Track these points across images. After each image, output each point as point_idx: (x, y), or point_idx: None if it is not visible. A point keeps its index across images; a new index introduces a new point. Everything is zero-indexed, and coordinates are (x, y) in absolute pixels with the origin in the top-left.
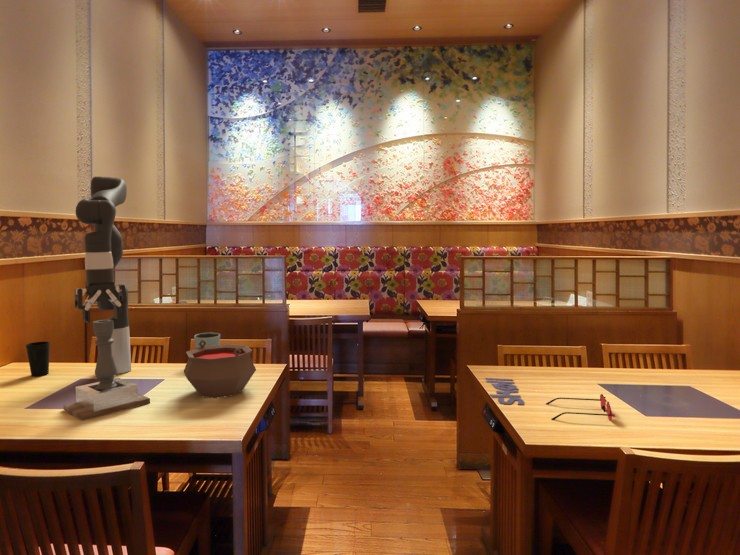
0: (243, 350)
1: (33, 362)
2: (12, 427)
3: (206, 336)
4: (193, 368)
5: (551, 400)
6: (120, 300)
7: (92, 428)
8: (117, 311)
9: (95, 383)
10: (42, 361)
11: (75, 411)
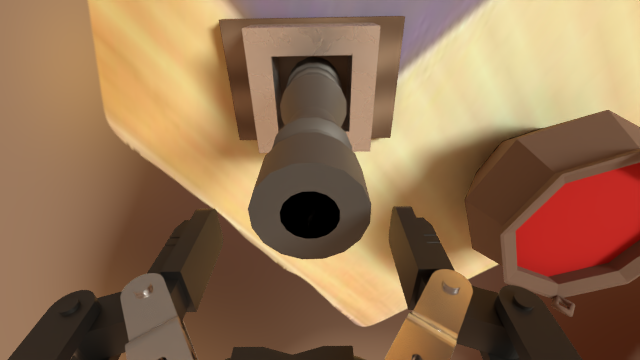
0: None
1: None
2: (108, 62)
3: None
4: (487, 223)
5: None
6: (498, 334)
7: (246, 187)
8: (403, 280)
9: (300, 39)
10: None
11: (234, 101)
